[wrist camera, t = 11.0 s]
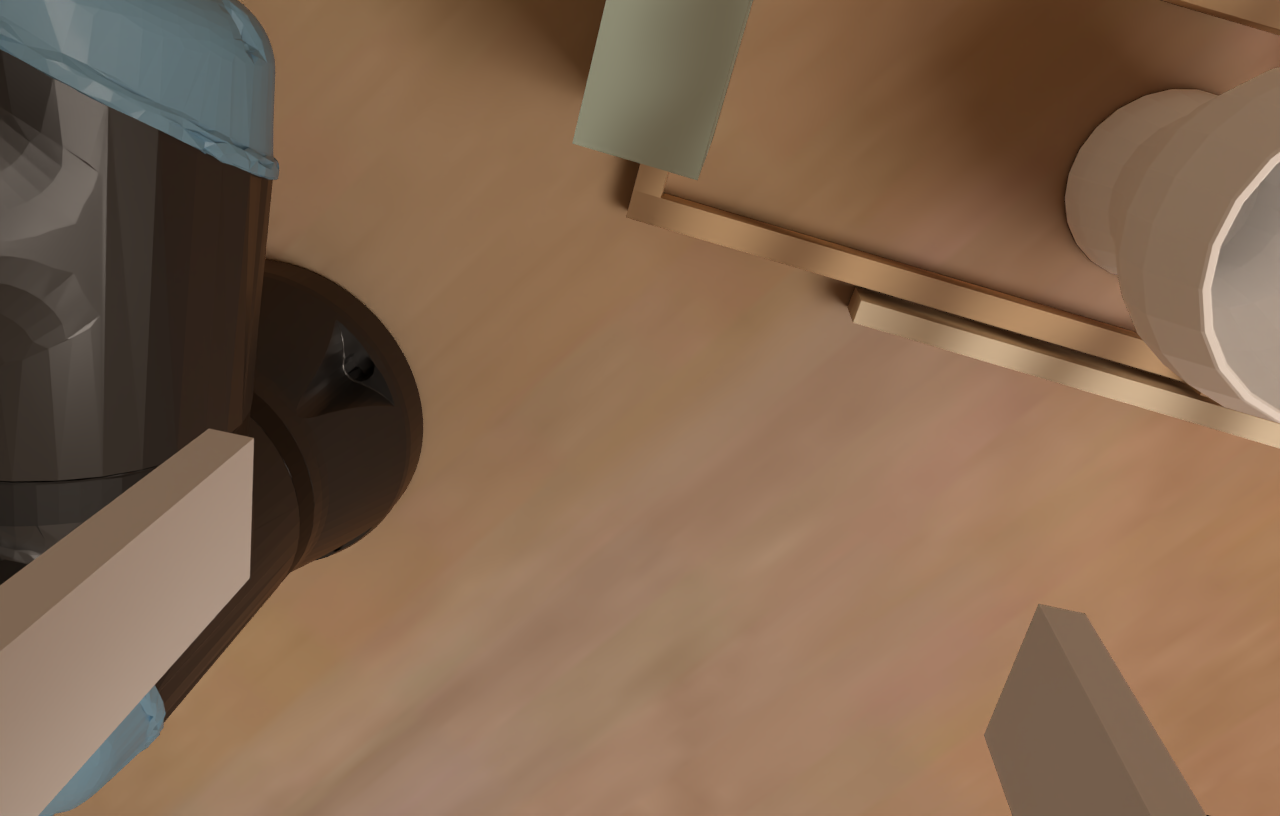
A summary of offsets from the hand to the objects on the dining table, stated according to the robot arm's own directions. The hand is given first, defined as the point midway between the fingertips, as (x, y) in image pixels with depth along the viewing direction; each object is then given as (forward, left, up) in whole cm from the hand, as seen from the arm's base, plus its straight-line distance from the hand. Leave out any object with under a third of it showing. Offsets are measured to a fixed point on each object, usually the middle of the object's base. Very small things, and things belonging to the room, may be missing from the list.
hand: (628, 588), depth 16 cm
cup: (+17, +8, -28) cm, 34 cm away
